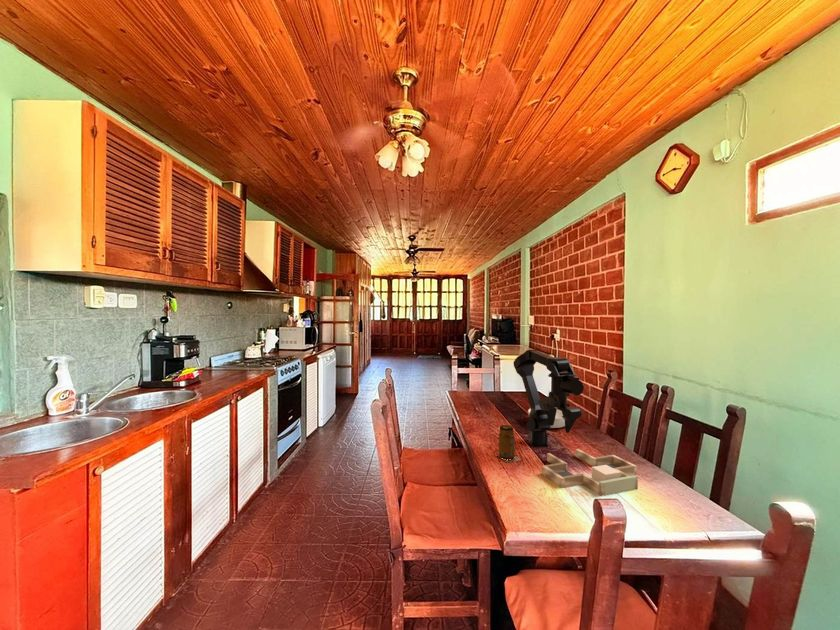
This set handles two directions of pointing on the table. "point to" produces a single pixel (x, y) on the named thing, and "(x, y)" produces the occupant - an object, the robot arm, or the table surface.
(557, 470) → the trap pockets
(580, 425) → the table surface
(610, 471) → the block
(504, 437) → the condiment
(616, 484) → the box
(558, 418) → the serving bowl
